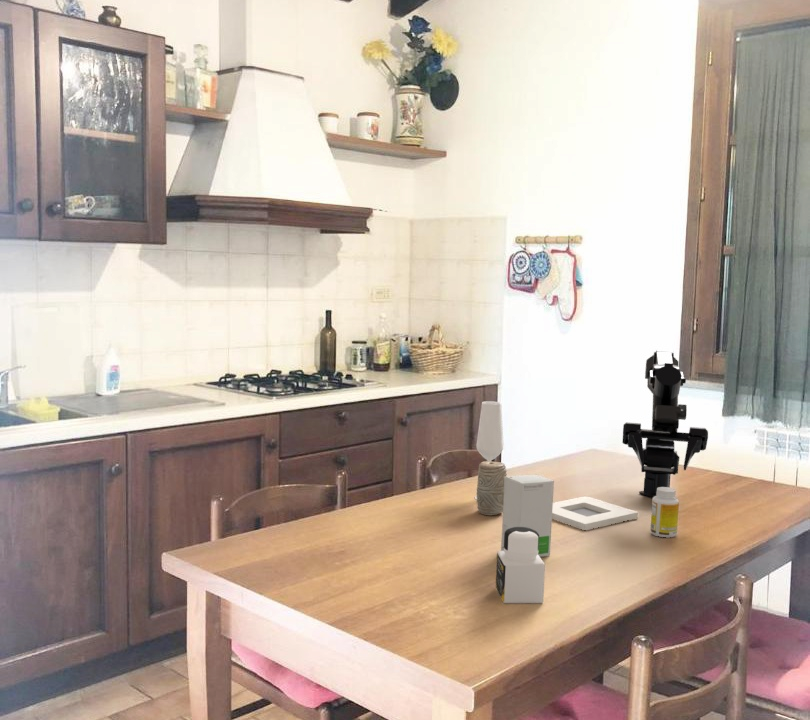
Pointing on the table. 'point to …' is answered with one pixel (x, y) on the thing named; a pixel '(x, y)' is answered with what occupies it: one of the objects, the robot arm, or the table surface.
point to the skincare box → (529, 507)
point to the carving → (491, 487)
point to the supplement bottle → (664, 513)
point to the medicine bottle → (520, 567)
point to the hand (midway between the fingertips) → (663, 467)
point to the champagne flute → (490, 431)
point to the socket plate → (590, 513)
